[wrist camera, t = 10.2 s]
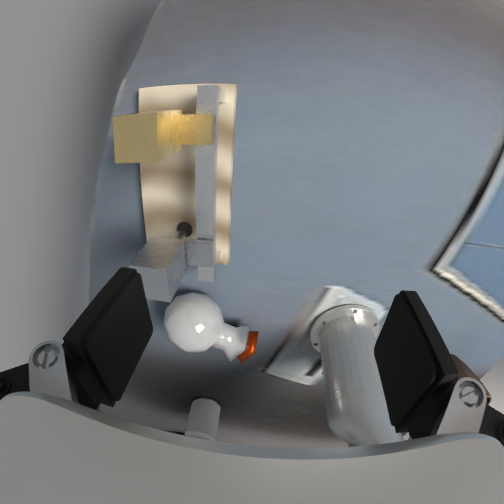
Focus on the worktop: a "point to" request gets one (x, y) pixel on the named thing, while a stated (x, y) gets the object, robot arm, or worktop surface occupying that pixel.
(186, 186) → the hole plate
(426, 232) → the worktop surface
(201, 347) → the potion bottle
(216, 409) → the can
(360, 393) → the robot arm
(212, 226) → the trammel frame
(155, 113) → the block
